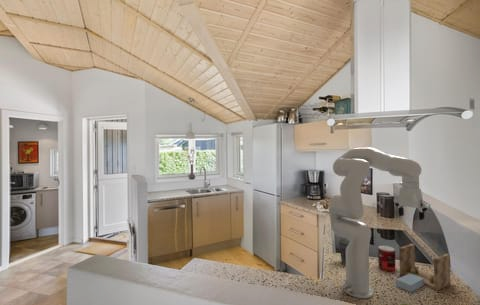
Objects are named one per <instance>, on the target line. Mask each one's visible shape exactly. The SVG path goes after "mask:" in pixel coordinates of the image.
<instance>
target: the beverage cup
mask: <svg viewBox="0 0 480 305" xmlns="http://www.w3.org/2000/svg"><path fill="white" fill-rule="evenodd" d="M338 243H339V250H340V261H341V263H342V264H343V265H345V266H346V247H347V246H348V244H349V243H350V240H347V239H345V238H342V237H339V241H338Z"/></svg>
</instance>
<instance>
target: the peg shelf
mask: <svg viewBox="0 0 480 305" xmlns="http://www.w3.org/2000/svg"><path fill="white" fill-rule="evenodd" d="M398 249H399V252H398V253H399V254H398V255H399V276H400V277H403V276H405V275H407V274H410V273H411V274H413V275H416V276H419V277H421V278H424V287H428V288H431V289H433V290H434V291H437V292H438V291H440V290H441V289H443V288H446V287H447V286H449V285H451V259H450V258H451V257H450V255H451V254H449V253H444V254H443V255H440V256H437V257H435V258H433V268H434V270H433V275H432V274H429V273H427V272H424V271H422V270H419V267H418V266H416V253H415V252H416V248H415V244H414V243H410V244H407V245H404V246H401V247H399V248H398Z"/></svg>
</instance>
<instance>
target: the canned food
mask: <svg viewBox="0 0 480 305" xmlns="http://www.w3.org/2000/svg"><path fill="white" fill-rule="evenodd" d="M377 248H378V249H377V254H378V256H377V257H378V267H379V269H381V270H382V271H387V272H395V271H396V249H395V248H394V247H392V246H390V245H379V246H378V247H377Z"/></svg>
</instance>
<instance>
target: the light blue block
mask: <svg viewBox="0 0 480 305" xmlns="http://www.w3.org/2000/svg"><path fill="white" fill-rule="evenodd" d="M396 287H397V288H400V289H402V290H404V291H407V292H409V293H412V292H413V291H417V290H418V289H420V288H422V287H425V285H424V278H421V277H419V276H416V275H413V274H411V273H410V274H407V275H405V276H400V277H398V278H396Z"/></svg>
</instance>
